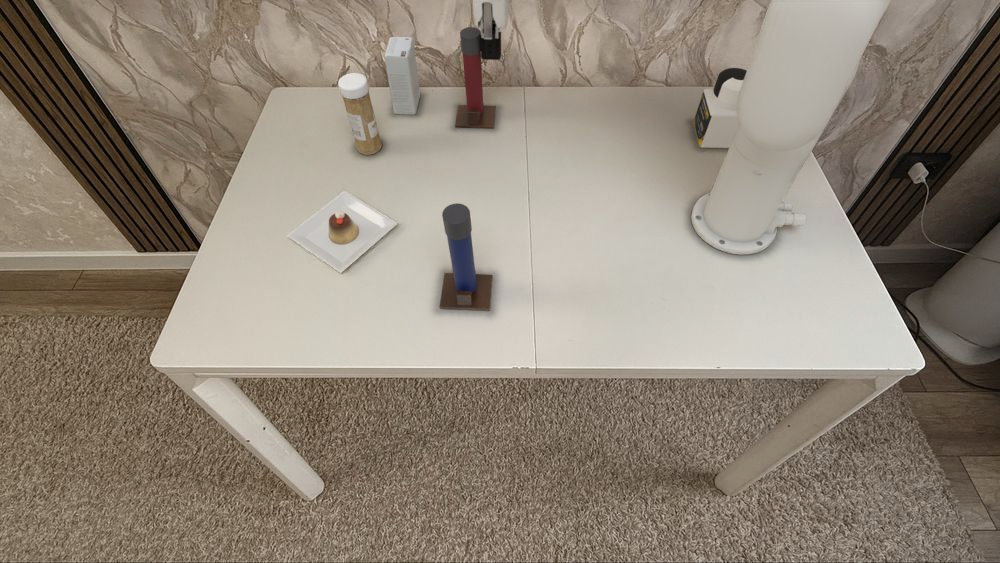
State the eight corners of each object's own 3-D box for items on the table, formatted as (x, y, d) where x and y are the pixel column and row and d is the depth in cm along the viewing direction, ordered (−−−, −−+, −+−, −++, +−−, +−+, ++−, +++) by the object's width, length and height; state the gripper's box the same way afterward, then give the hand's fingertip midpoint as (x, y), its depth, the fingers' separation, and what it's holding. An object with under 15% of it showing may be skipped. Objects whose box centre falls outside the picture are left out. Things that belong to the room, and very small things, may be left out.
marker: (478, 277, 79) (471, 203, 67) (476, 296, 77) (468, 224, 65) (455, 276, 79) (443, 202, 67) (453, 295, 77) (440, 223, 65)
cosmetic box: (398, 94, 106) (387, 35, 97) (422, 95, 106) (413, 35, 96) (393, 115, 103) (381, 55, 93) (417, 116, 103) (408, 56, 93)
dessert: (342, 277, 81) (334, 257, 77) (288, 239, 86) (277, 218, 82) (399, 227, 87) (394, 206, 83) (345, 194, 91) (338, 173, 87)
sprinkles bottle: (386, 149, 97) (371, 82, 86) (363, 159, 96) (344, 92, 85) (375, 135, 100) (359, 68, 89) (352, 145, 98) (332, 77, 87)
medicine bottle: (692, 122, 101) (712, 62, 91) (732, 122, 101) (756, 62, 91) (699, 148, 97) (720, 88, 87) (740, 149, 96) (767, 89, 87)
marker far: (485, 105, 102) (481, 27, 90) (483, 116, 100) (479, 38, 88) (467, 104, 102) (461, 26, 90) (465, 116, 100) (458, 38, 88)
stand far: (495, 107, 104) (495, 93, 101) (493, 128, 100) (493, 114, 98) (458, 106, 104) (457, 92, 102) (455, 127, 101) (453, 113, 98)
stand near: (492, 276, 81) (492, 263, 78) (489, 311, 78) (489, 298, 75) (444, 274, 81) (442, 261, 79) (439, 309, 78) (437, 296, 75)
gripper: (512, -38, 73) (511, 84, 88) (517, -86, 82) (515, 32, 96) (455, -39, 73) (464, 83, 88) (466, -87, 82) (472, 31, 97)
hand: (491, 56), depth 92 cm, fingers closed
